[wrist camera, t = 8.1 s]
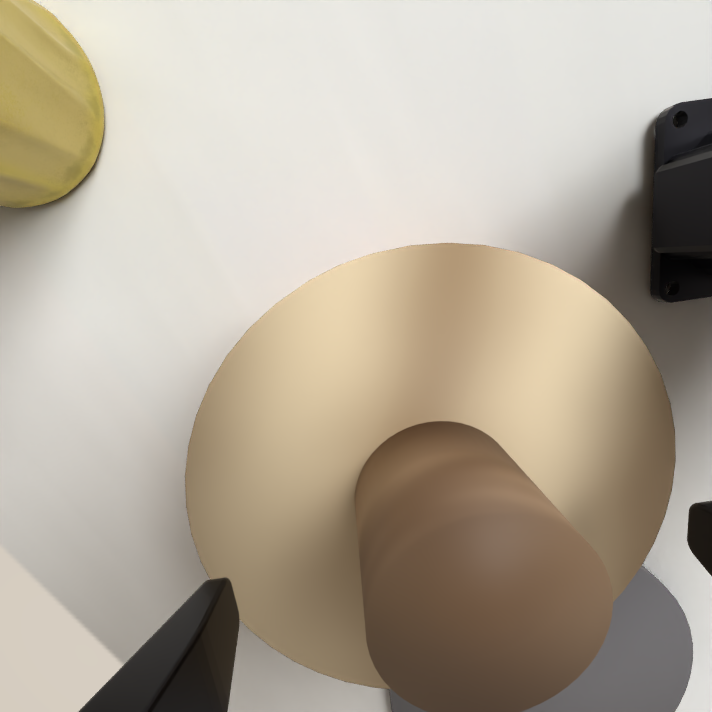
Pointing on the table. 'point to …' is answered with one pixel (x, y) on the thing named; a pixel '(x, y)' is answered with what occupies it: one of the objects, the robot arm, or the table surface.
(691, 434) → the table surface
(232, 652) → the robot arm
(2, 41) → the vase
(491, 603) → the lid
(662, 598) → the mat
